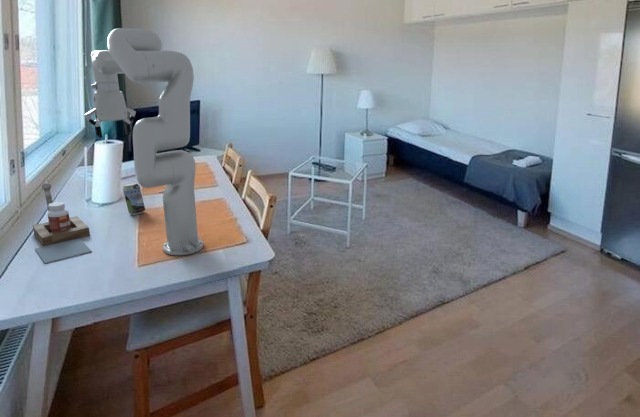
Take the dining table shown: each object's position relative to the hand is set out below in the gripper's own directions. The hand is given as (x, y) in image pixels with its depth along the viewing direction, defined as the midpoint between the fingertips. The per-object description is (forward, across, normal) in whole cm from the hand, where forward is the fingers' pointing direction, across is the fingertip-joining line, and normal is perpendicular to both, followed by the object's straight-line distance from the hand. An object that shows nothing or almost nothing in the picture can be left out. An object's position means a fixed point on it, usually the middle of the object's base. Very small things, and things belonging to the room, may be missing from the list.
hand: (114, 135), depth 165 cm
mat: (+30, -26, -23) cm, 46 cm away
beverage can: (+30, +3, -3) cm, 31 cm away
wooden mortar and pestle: (+30, -24, -6) cm, 39 cm away
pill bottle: (+30, -24, -9) cm, 39 cm away
